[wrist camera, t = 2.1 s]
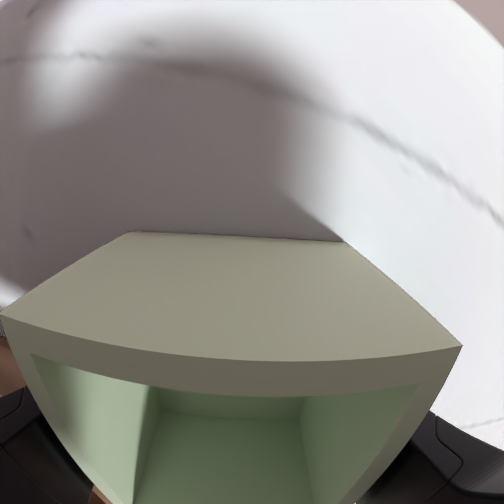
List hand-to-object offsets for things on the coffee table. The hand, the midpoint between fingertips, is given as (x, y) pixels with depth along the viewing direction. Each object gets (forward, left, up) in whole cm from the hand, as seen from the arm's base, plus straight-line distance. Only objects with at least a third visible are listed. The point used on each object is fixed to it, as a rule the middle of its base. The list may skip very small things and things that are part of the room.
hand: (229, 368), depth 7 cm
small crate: (0, 0, -1) cm, 1 cm away
